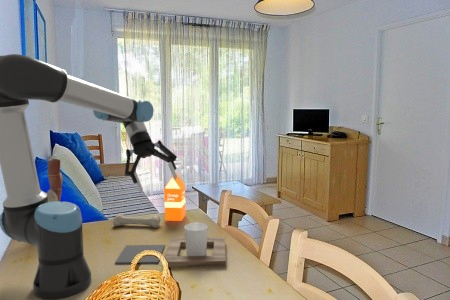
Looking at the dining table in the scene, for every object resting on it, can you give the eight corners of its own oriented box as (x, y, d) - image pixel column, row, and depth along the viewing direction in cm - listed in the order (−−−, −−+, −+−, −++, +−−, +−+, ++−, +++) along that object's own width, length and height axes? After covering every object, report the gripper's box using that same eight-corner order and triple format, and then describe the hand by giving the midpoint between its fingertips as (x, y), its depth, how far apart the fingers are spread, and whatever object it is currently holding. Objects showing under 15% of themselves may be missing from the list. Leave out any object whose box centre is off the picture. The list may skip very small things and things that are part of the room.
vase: (54, 235, 139) (49, 161, 135) (40, 233, 141) (34, 160, 137) (73, 227, 149) (69, 157, 145) (59, 225, 151) (55, 156, 147)
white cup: (182, 251, 123) (181, 224, 122) (202, 247, 127) (202, 221, 125) (189, 260, 116) (188, 231, 115) (211, 256, 119) (211, 228, 118)
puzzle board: (225, 266, 112) (225, 260, 111) (163, 267, 111) (162, 261, 111) (224, 242, 131) (224, 237, 131) (171, 243, 131) (171, 237, 131)
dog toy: (162, 224, 152) (162, 213, 151) (158, 229, 146) (157, 217, 146) (117, 223, 154) (117, 212, 154) (111, 228, 148) (111, 216, 148)
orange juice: (185, 214, 165) (185, 172, 162) (181, 220, 156) (180, 176, 153) (169, 214, 166) (168, 172, 163) (164, 220, 157) (163, 176, 154)
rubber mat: (158, 263, 114) (158, 261, 114) (115, 264, 114) (115, 262, 114) (164, 246, 128) (164, 244, 128) (126, 246, 128) (126, 245, 128)
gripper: (167, 131, 144) (187, 177, 137) (106, 148, 133) (125, 198, 127) (170, 122, 137) (191, 169, 131) (106, 139, 127) (126, 192, 120)
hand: (159, 184), depth 129 cm, fingers open, 13 cm apart
